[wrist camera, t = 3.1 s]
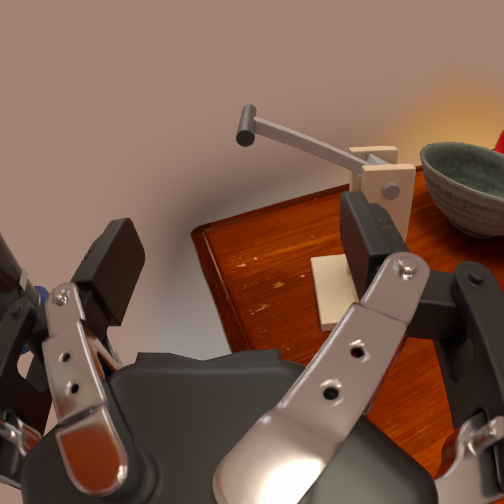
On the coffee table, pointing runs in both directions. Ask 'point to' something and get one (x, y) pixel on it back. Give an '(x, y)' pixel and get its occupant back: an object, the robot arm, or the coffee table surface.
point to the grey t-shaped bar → (298, 141)
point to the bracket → (376, 191)
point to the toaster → (500, 144)
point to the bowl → (466, 186)
